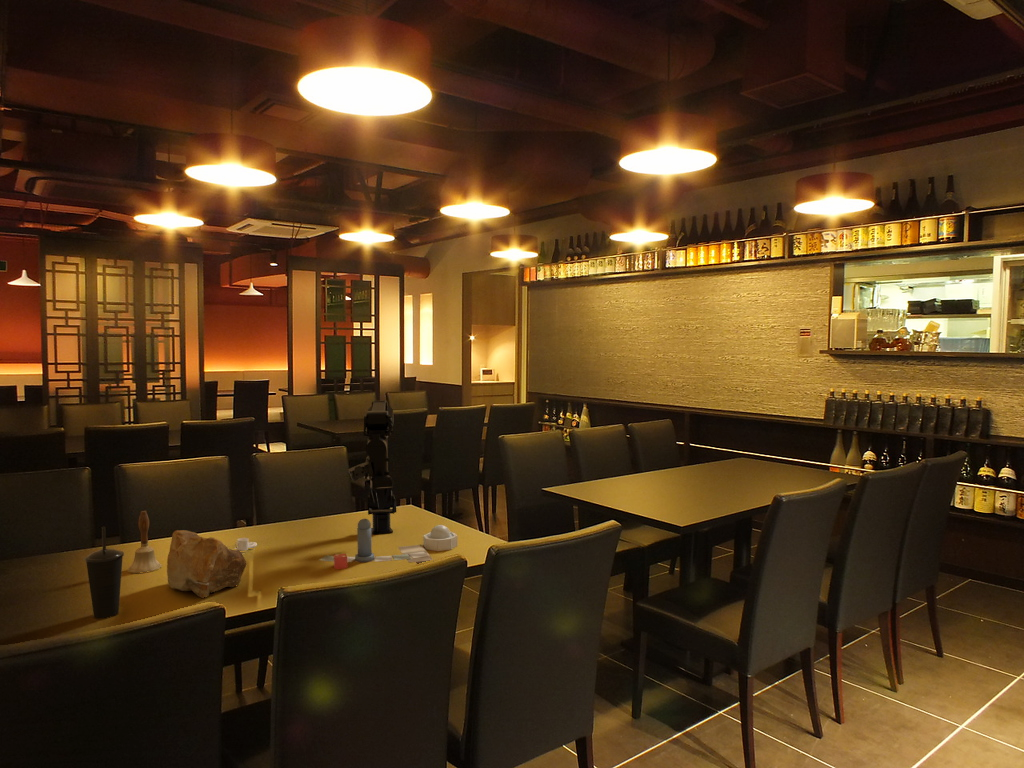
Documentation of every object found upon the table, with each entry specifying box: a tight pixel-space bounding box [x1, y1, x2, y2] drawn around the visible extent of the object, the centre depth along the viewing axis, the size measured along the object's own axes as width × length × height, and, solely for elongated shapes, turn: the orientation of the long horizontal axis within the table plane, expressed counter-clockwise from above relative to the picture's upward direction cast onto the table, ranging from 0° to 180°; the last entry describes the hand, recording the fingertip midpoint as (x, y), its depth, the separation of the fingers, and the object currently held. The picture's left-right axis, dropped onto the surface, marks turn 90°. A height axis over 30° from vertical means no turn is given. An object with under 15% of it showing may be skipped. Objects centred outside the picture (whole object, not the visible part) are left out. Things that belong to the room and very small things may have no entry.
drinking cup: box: [84, 526, 125, 619], centre depth 157 cm, size 8×8×20 cm
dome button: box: [428, 524, 452, 539], centre depth 211 cm, size 7×7×6 cm
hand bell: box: [127, 510, 163, 574], centre depth 190 cm, size 8×8×16 cm
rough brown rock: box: [166, 529, 247, 599], centre depth 174 cm, size 23×16×15 cm
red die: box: [333, 553, 348, 570], centre depth 187 cm, size 3×3×3 cm
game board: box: [318, 544, 434, 565], centre depth 196 cm, size 16×30×1 cm, turn 110°
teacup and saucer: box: [234, 537, 258, 551], centre depth 206 cm, size 9×8×4 cm
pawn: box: [354, 518, 375, 563], centre depth 194 cm, size 5×5×11 cm
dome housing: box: [422, 531, 458, 552], centre depth 211 cm, size 10×10×3 cm
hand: (378, 506), depth 207 cm, fingers open, 9 cm apart
